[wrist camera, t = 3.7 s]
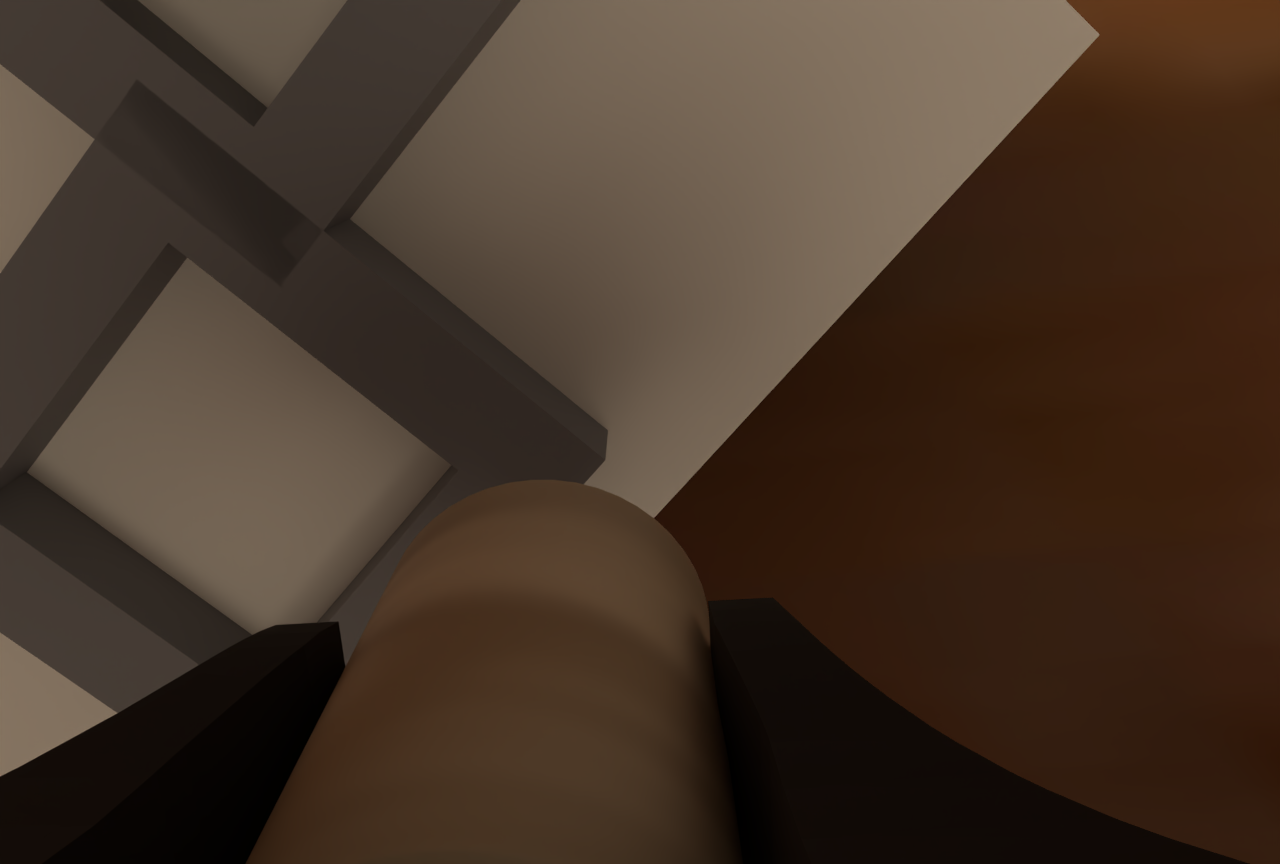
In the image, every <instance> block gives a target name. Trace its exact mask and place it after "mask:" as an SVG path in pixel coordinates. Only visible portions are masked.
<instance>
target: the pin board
mask: <svg viewBox="0 0 1280 864" xmlns="http://www.w3.org/2000/svg"><path fill="white" fill-rule="evenodd" d="M1098 36H1099V34H1098V33H1097V32H1096V31H1095V30H1094V29H1093V28H1092V27H1091V26H1090V25H1089V24H1088V22H1087V21H1086V20H1085V19H1084V18H1083V17H1082V16H1081V15H1080V14H1079V13H1078V12H1077V11H1076V10H1075V9H1074V8H1073V7H1072V6H1071V5H1070V4H1069V3H1068V2H1067V1H1066V0H0V776H2V775H4V774H6V773H8V772H10V771H12V770H14V769H16V768H18V767H20V766H22V765H24V764H26V763H27V762H29V761H31V760H33V759H35V758H37V757H38V756H40V755H42V754H44V753H46V752H47V751H49V750H51V749H53V748H55V747H57V746H58V745H60V744H62V743H64V742H66V741H68V740H69V739H71V738H73V737H75V736H77V735H79V734H80V733H82V732H84V731H86V730H88V729H90V728H91V727H93V726H95V725H97V724H99V723H100V722H102V721H104V720H106V719H108V718H110V717H111V716H113V715H115V714H117V713H119V712H120V711H122V710H124V709H126V708H127V707H129V706H131V705H132V704H134V703H136V702H137V701H139V700H141V699H142V698H144V697H146V696H147V695H149V694H151V693H153V692H154V691H156V690H158V689H159V688H161V687H163V686H164V685H166V684H168V683H169V682H171V681H173V680H174V679H176V678H178V677H179V676H181V675H183V674H185V673H186V672H188V671H190V670H191V669H193V668H195V667H196V666H198V665H200V664H201V663H203V662H205V661H206V660H208V659H210V658H211V657H213V656H215V655H217V654H218V653H220V652H222V651H224V650H225V649H227V648H229V647H231V646H232V645H234V644H236V643H238V642H240V641H241V640H243V639H245V638H247V637H249V636H251V635H253V634H255V633H257V632H259V631H261V630H264V629H267V628H269V627H272V626H274V625H282V624H301V623H319V622H337V621H339V627H340V634H341V641H342V648H343V654H344V661H345V667H346V665H347V663H348V661H349V659H350V657H351V655H352V653H353V651H354V649H355V647H356V645H357V643H358V641H359V639H360V637H361V635H362V633H363V632H364V630H365V628H366V626H367V624H368V622H369V620H370V618H371V616H372V614H373V612H374V610H375V608H376V606H377V604H378V602H379V600H380V598H381V596H382V594H383V592H384V590H385V588H386V586H387V584H388V582H389V580H390V578H391V576H392V574H393V573H394V571H395V569H396V567H397V565H398V563H399V561H400V560H401V558H402V556H403V554H404V552H405V551H406V549H407V548H408V546H409V545H410V544H411V542H412V541H413V540H414V539H415V537H416V536H417V535H418V533H419V532H420V531H421V530H422V529H423V528H424V527H425V526H426V525H428V524H429V523H430V522H431V521H432V520H433V519H434V518H435V517H436V516H438V515H439V514H440V513H442V512H443V511H444V510H446V509H447V508H448V507H450V506H452V505H453V504H455V503H457V502H459V501H461V500H462V499H464V498H466V497H468V496H470V495H472V494H475V493H477V492H480V491H482V490H485V489H488V488H491V487H495V486H499V485H503V484H506V483H511V482H519V481H527V480H559V481H567V482H576V483H580V484H584V485H588V486H592V487H596V488H599V489H602V490H604V491H607V492H609V493H612V494H614V495H617V496H619V497H621V498H623V499H625V500H626V501H628V502H630V503H632V504H634V505H636V506H638V507H639V508H640V509H642V510H643V511H644V512H646V513H647V514H649V515H650V516H651V517H653V518H654V517H655V516H656V515H657V514H658V513H659V512H660V511H661V510H662V509H663V508H664V507H665V506H666V504H667V503H668V502H669V501H670V500H671V499H672V498H673V497H674V496H675V495H676V494H677V493H678V491H679V490H680V489H681V488H682V487H683V486H684V485H685V484H686V483H687V482H688V481H689V480H690V478H691V477H692V476H693V475H694V474H695V473H696V472H697V471H698V470H699V469H700V468H701V467H702V465H703V464H704V463H705V462H706V461H707V460H708V459H709V458H710V457H711V456H712V455H713V453H714V452H715V451H716V450H717V449H718V448H719V447H720V446H721V445H722V444H723V443H724V442H725V440H726V439H727V438H728V437H729V436H730V435H731V434H732V433H733V432H734V431H735V430H736V429H737V427H738V426H739V425H740V424H741V423H742V422H743V421H744V420H745V419H746V418H747V417H748V416H749V414H750V413H751V412H752V411H753V410H754V409H755V408H756V407H757V406H758V405H759V404H760V403H761V401H762V400H763V399H764V398H765V397H766V396H767V395H768V394H769V393H770V392H771V391H772V390H773V388H774V387H775V386H776V385H777V384H778V383H779V382H780V381H781V380H782V379H783V378H784V377H785V375H786V374H787V373H788V372H789V371H790V370H791V369H792V368H793V367H794V366H795V365H796V363H797V362H798V361H799V360H800V359H801V358H802V357H803V356H804V355H805V354H806V353H807V352H808V350H809V349H810V348H811V347H812V346H813V345H814V344H815V343H816V342H817V341H818V340H819V339H820V337H821V336H822V335H823V334H824V333H825V332H826V331H827V330H828V329H829V328H830V327H831V326H832V324H833V323H834V322H835V321H836V320H837V319H838V318H839V317H840V316H841V315H842V314H843V313H844V311H845V310H846V309H847V308H848V307H849V306H850V305H851V304H852V303H853V302H854V301H855V300H856V298H857V297H858V296H859V295H860V294H861V293H862V292H863V291H864V290H865V289H866V288H867V286H868V285H869V284H870V283H871V282H872V281H873V280H874V279H875V278H876V277H877V276H878V275H879V273H880V272H881V271H882V270H883V269H884V268H885V267H886V266H887V265H888V264H889V263H890V262H891V260H892V259H893V258H894V257H895V256H896V255H897V254H898V253H899V252H900V251H901V250H902V249H903V247H904V246H905V245H906V244H907V243H908V242H909V241H910V240H911V239H912V238H913V237H914V236H915V234H916V233H917V232H918V231H919V230H920V229H921V228H922V227H923V226H924V225H925V224H926V223H927V221H928V220H929V219H930V218H931V217H932V216H933V215H934V214H935V213H936V212H937V211H938V210H939V208H940V207H941V206H942V205H943V204H944V203H945V202H946V201H947V200H948V199H949V198H950V196H951V195H952V194H953V193H954V192H955V191H956V190H957V189H958V188H959V187H960V186H961V185H962V183H963V182H964V181H965V180H966V179H967V178H968V177H969V176H970V175H971V174H972V173H973V172H974V170H975V169H976V168H977V167H978V166H979V165H980V164H981V163H982V162H983V161H984V160H985V159H986V157H987V156H988V155H989V154H990V153H991V152H992V151H993V150H994V149H995V148H996V147H997V146H998V144H999V143H1000V142H1001V141H1002V140H1003V139H1004V138H1005V137H1006V136H1007V135H1008V134H1009V133H1010V131H1011V130H1012V129H1013V128H1014V127H1015V126H1016V125H1017V124H1018V123H1019V122H1020V121H1021V120H1022V118H1023V117H1024V116H1025V115H1026V114H1027V113H1028V112H1029V111H1030V110H1031V109H1032V108H1033V106H1034V105H1035V104H1036V103H1037V102H1038V101H1039V100H1040V99H1041V98H1042V97H1043V96H1044V95H1045V93H1046V92H1047V91H1048V90H1049V89H1050V88H1051V87H1052V86H1053V85H1054V84H1055V83H1056V82H1057V80H1058V79H1059V78H1060V77H1061V76H1062V75H1063V74H1064V73H1065V72H1066V71H1067V70H1068V69H1069V67H1070V66H1071V65H1072V64H1073V63H1074V62H1075V61H1076V60H1077V59H1078V58H1079V57H1080V56H1081V54H1082V53H1083V52H1084V51H1085V50H1086V49H1087V48H1088V47H1089V46H1090V45H1091V44H1092V43H1093V41H1094V40H1095V39H1096V38H1097V37H1098Z"/></svg>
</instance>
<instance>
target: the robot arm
mask: <svg viewBox="0 0 1280 864" xmlns="http://www.w3.org/2000/svg"><path fill="white" fill-rule="evenodd" d="M708 603H709V625H710V648H711V657H712V664H713V672H714V679H715V687H716V694H717V702H718V708H719V713H720V718H721V723H722V728H723V734H724V739H725V744H726V749H727V754H728V759H729V766H730V773H731V780H732V787H733V795H734V802H735V809H736V816H737V823H738V831H739V838H740V845H741V852H742V860H743V864H1248V863H1245V862H1242V861H1239V860H1236V859H1233V858H1230V857H1226V856H1223V855H1220V854H1217V853H1214V852H1211V851H1207V850H1204V849H1201V848H1198V847H1195V846H1192V845H1189V844H1185V843H1182V842H1179V841H1176V840H1173V839H1170V838H1167V837H1164V836H1161V835H1159V834H1156V833H1153V832H1150V831H1148V830H1145V829H1142V828H1139V827H1137V826H1134V825H1131V824H1128V823H1126V822H1123V821H1120V820H1118V819H1115V818H1113V817H1110V816H1108V815H1105V814H1103V813H1101V812H1098V811H1096V810H1094V809H1091V808H1089V807H1087V806H1084V805H1082V804H1080V803H1077V802H1075V801H1073V800H1070V799H1068V798H1066V797H1063V796H1061V795H1059V794H1056V793H1054V792H1051V791H1049V790H1047V789H1045V788H1043V787H1041V786H1038V785H1036V784H1034V783H1032V782H1030V781H1028V780H1026V779H1024V778H1022V777H1020V776H1018V775H1016V774H1014V773H1012V772H1010V771H1008V770H1006V769H1004V768H1002V767H1001V766H999V765H997V764H995V763H993V762H991V761H990V760H988V759H986V758H984V757H982V756H981V755H979V754H977V753H975V752H973V751H971V750H970V749H968V748H966V747H964V746H962V745H961V744H959V743H957V742H955V741H954V740H952V739H950V738H949V737H947V736H945V735H944V734H942V733H941V732H939V731H937V730H936V729H934V728H933V727H931V726H929V725H928V724H926V723H925V722H924V721H922V720H921V719H919V718H918V717H916V716H915V715H913V714H912V713H911V712H909V711H908V710H906V709H905V708H903V707H902V706H900V705H899V704H898V703H896V702H895V701H893V700H892V699H890V698H889V697H887V696H886V695H885V694H883V693H882V692H881V691H880V690H878V689H877V688H876V687H874V686H873V685H872V684H870V683H869V682H868V681H866V680H865V679H864V678H863V677H861V676H860V675H859V674H858V673H856V672H855V671H854V670H853V669H851V668H850V667H849V666H848V665H847V664H845V663H844V662H843V661H842V660H841V659H839V658H838V657H837V656H836V655H835V654H833V653H832V652H831V651H830V650H829V649H828V648H827V647H826V646H824V645H823V644H822V643H821V642H820V641H819V640H818V639H817V638H816V637H815V636H814V635H812V634H811V633H810V632H809V631H808V630H807V629H806V628H805V627H804V626H803V625H802V624H801V623H800V622H799V621H797V620H796V619H795V618H794V617H793V616H792V615H791V614H790V613H789V612H788V611H787V610H786V609H785V608H783V607H782V606H781V605H780V604H779V603H778V602H777V601H776V600H775V599H774V598H758V599H739V600H721V601H708ZM344 669H345V661H344V654H343V648H342V641H341V634H340V627H339V621H337V622H319V623H301V624H282V625H274V626H272V627H269V628H267V629H264V630H261V631H259V632H257V633H255V634H253V635H251V636H249V637H247V638H245V639H243V640H241V641H240V642H238V643H236V644H234V645H232V646H231V647H229V648H227V649H225V650H224V651H222V652H220V653H218V654H217V655H215V656H213V657H211V658H210V659H208V660H206V661H205V662H203V663H201V664H200V665H198V666H196V667H195V668H193V669H191V670H190V671H188V672H186V673H185V674H183V675H181V676H179V677H178V678H176V679H174V680H173V681H171V682H169V683H168V684H166V685H164V686H163V687H161V688H159V689H158V690H156V691H154V692H153V693H151V694H149V695H147V696H146V697H144V698H142V699H141V700H139V701H137V702H136V703H134V704H132V705H131V706H129V707H127V708H126V709H124V710H122V711H120V712H119V713H117V714H115V715H113V716H111V717H110V718H108V719H106V720H104V721H102V722H100V723H99V724H97V725H95V726H93V727H91V728H90V729H88V730H86V731H84V732H82V733H80V734H79V735H77V736H75V737H73V738H71V739H69V740H68V741H66V742H64V743H62V744H60V745H58V746H57V747H55V748H53V749H51V750H49V751H47V752H46V753H44V754H42V755H40V756H38V757H37V758H35V759H33V760H31V761H29V762H27V763H26V764H24V765H22V766H20V767H18V768H16V769H14V770H12V771H10V772H8V773H6V774H4V775H2V776H0V864H246V862H247V860H248V858H249V856H250V854H251V852H252V850H253V848H254V846H255V844H256V842H257V840H258V838H259V836H260V834H261V832H262V830H263V828H264V826H265V824H266V822H267V820H268V818H269V816H270V815H271V813H272V811H273V809H274V807H275V805H276V803H277V801H278V799H279V797H280V795H281V793H282V791H283V789H284V787H285V785H286V783H287V781H288V779H289V777H290V775H291V773H292V771H293V769H294V767H295V765H296V763H297V761H298V759H299V757H300V755H301V754H302V752H303V750H304V748H305V746H306V744H307V742H308V740H309V738H310V736H311V734H312V732H313V730H314V728H315V726H316V724H317V722H318V720H319V718H320V716H321V714H322V712H323V710H324V708H325V706H326V704H327V702H328V700H329V698H330V696H331V694H332V693H333V691H334V689H335V687H336V685H337V683H338V681H339V679H340V677H341V675H342V673H343V671H344Z"/></svg>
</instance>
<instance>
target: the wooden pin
mask: <svg viewBox="0 0 1280 864" xmlns="http://www.w3.org/2000/svg"><path fill="white" fill-rule="evenodd" d="M246 864H743V860H742V852H741V845H740V838H739V831H738V823H737V816H736V809H735V802H734V795H733V787H732V780H731V773H730V766H729V759H728V754H727V749H726V744H725V739H724V734H723V728H722V723H721V718H720V713H719V708H718V702H717V694H716V687H715V679H714V672H713V664H712V657H711V648H710V625H709V614H708V607H707V602H706V598H705V595H704V591H703V587H702V584H701V582H700V580H699V577H698V575H697V573H696V571H695V568H694V566H693V565H692V563H691V561H690V560H689V558H688V556H687V555H686V553H685V551H684V550H683V549H682V547H681V546H680V545H679V544H678V542H677V541H676V540H675V539H674V537H673V536H672V535H671V534H670V533H669V532H668V531H667V530H666V529H665V528H664V527H663V526H662V525H661V524H660V523H659V522H657V521H656V520H655V519H654V518H653V517H651V516H650V515H649V514H647V513H646V512H644V511H643V510H642V509H640V508H639V507H638V506H636V505H634V504H632V503H630V502H628V501H626V500H625V499H623V498H621V497H619V496H617V495H614V494H612V493H609V492H607V491H604V490H602V489H599V488H596V487H592V486H588V485H584V484H580V483H576V482H567V481H559V480H527V481H519V482H511V483H506V484H503V485H499V486H495V487H491V488H488V489H485V490H482V491H480V492H477V493H475V494H472V495H470V496H468V497H466V498H464V499H462V500H461V501H459V502H457V503H455V504H453V505H452V506H450V507H448V508H447V509H446V510H444V511H443V512H442V513H440V514H439V515H438V516H436V517H435V518H434V519H433V520H432V521H431V522H430V523H429V524H428V525H426V526H425V527H424V528H423V529H422V530H421V531H420V532H419V533H418V535H417V536H416V537H415V539H414V540H413V541H412V542H411V544H410V545H409V546H408V548H407V549H406V551H405V552H404V554H403V556H402V558H401V560H400V561H399V563H398V565H397V567H396V569H395V571H394V573H393V574H392V576H391V578H390V580H389V582H388V584H387V586H386V588H385V590H384V592H383V594H382V596H381V598H380V600H379V602H378V604H377V606H376V608H375V610H374V612H373V614H372V616H371V618H370V620H369V622H368V624H367V626H366V628H365V630H364V632H363V633H362V635H361V637H360V639H359V641H358V643H357V645H356V647H355V649H354V651H353V653H352V655H351V657H350V659H349V661H348V663H347V665H346V667H345V669H344V671H343V673H342V675H341V677H340V679H339V681H338V683H337V685H336V687H335V689H334V691H333V693H332V694H331V696H330V698H329V700H328V702H327V704H326V706H325V708H324V710H323V712H322V714H321V716H320V718H319V720H318V722H317V724H316V726H315V728H314V730H313V732H312V734H311V736H310V738H309V740H308V742H307V744H306V746H305V748H304V750H303V752H302V754H301V755H300V757H299V759H298V761H297V763H296V765H295V767H294V769H293V771H292V773H291V775H290V777H289V779H288V781H287V783H286V785H285V787H284V789H283V791H282V793H281V795H280V797H279V799H278V801H277V803H276V805H275V807H274V809H273V811H272V813H271V815H270V816H269V818H268V820H267V822H266V824H265V826H264V828H263V830H262V832H261V834H260V836H259V838H258V840H257V842H256V844H255V846H254V848H253V850H252V852H251V854H250V856H249V858H248V860H247V862H246Z"/></svg>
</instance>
